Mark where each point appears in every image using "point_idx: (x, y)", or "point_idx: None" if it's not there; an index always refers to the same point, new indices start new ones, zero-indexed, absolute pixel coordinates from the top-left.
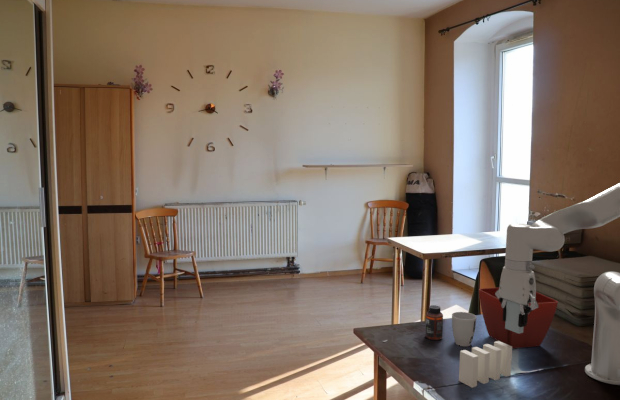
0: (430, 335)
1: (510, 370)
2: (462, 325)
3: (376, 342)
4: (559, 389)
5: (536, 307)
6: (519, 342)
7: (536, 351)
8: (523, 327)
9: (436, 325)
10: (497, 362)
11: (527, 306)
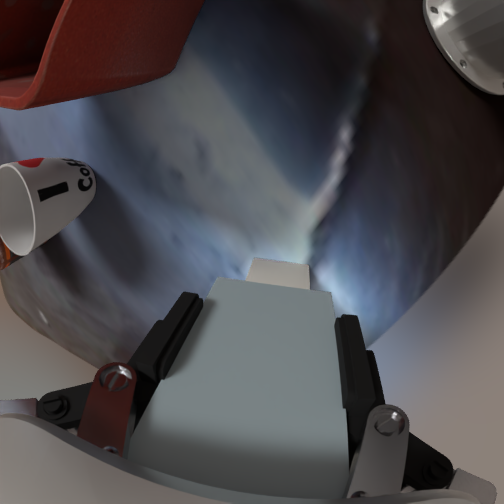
0: (39, 246)
1: (308, 274)
2: (46, 239)
3: (49, 334)
4: (444, 234)
5: (476, 495)
6: (181, 37)
7: (240, 8)
8: (333, 313)
9: None
10: None
11: (386, 482)
